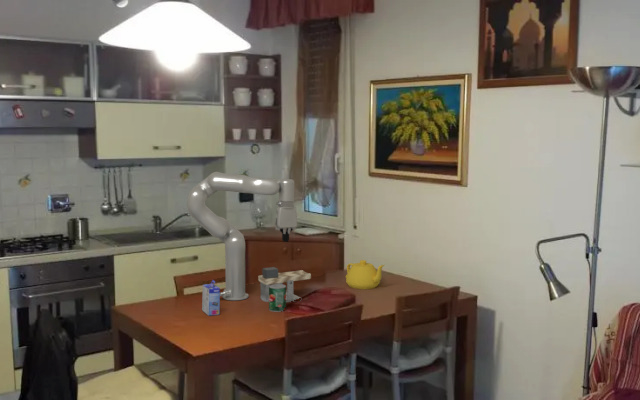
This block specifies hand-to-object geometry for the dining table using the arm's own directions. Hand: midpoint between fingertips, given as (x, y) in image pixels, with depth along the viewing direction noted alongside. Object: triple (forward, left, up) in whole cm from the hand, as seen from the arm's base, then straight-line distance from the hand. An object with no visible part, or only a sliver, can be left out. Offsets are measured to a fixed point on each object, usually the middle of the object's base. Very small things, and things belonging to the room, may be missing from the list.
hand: (285, 241), depth 320 cm
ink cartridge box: (-44, +4, -28) cm, 52 cm away
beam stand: (-6, -1, -27) cm, 28 cm away
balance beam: (-3, -2, -18) cm, 19 cm away
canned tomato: (-20, -14, -28) cm, 37 cm away
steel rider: (-10, 0, -17) cm, 20 cm away
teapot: (+43, -16, -28) cm, 54 cm away
